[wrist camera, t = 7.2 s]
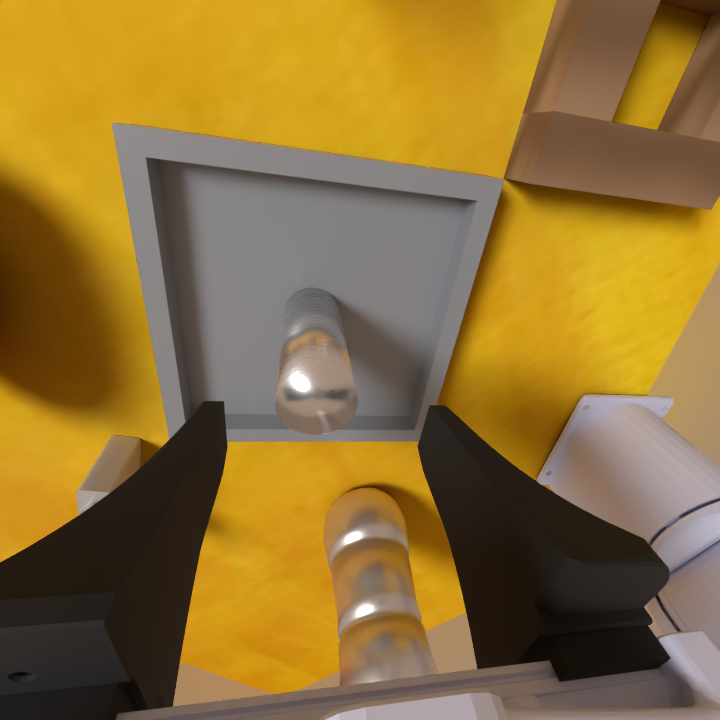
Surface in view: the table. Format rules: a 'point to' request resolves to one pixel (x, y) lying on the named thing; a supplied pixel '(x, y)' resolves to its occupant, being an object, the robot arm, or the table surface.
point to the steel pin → (314, 366)
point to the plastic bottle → (374, 590)
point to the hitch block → (600, 100)
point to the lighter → (109, 470)
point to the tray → (298, 272)
